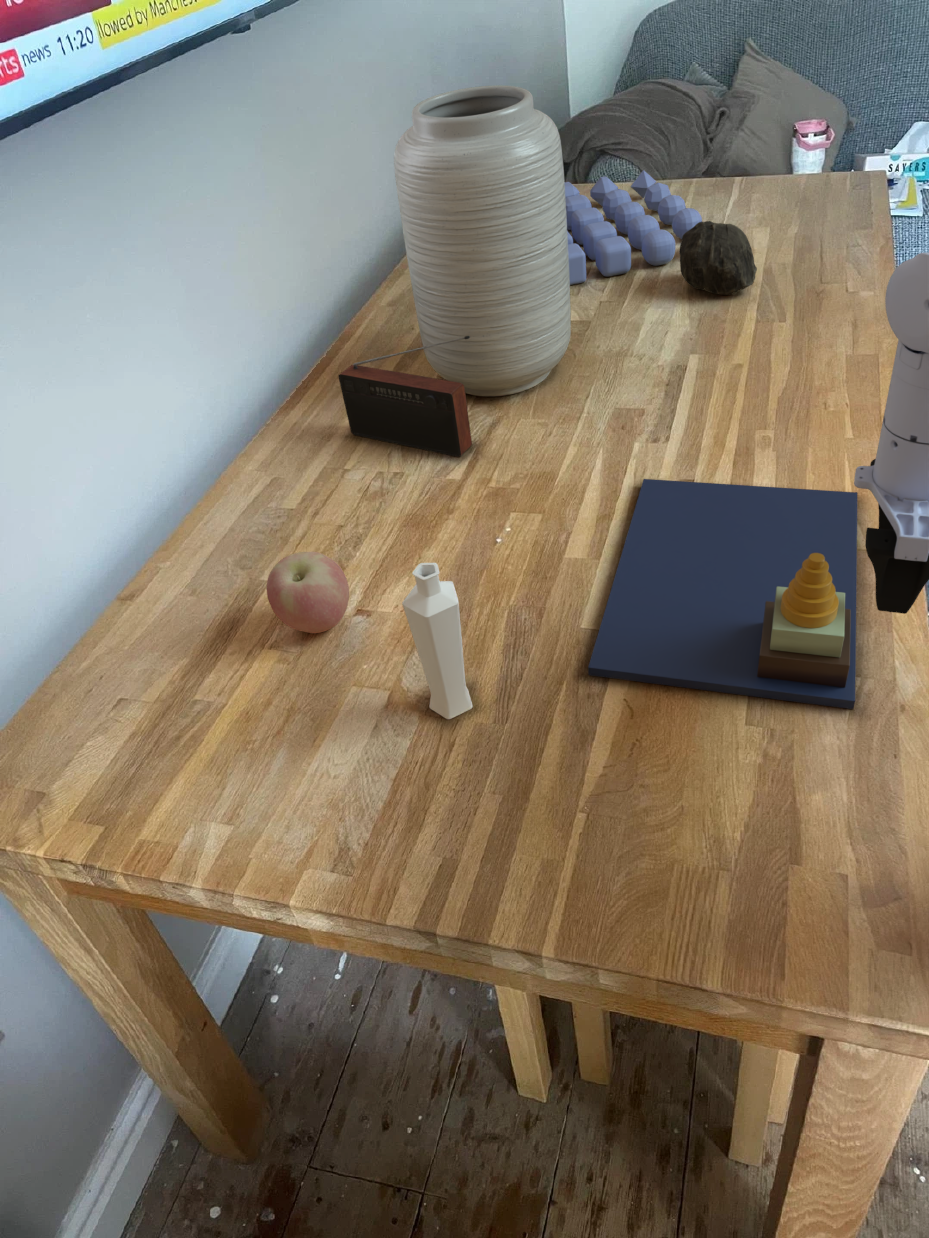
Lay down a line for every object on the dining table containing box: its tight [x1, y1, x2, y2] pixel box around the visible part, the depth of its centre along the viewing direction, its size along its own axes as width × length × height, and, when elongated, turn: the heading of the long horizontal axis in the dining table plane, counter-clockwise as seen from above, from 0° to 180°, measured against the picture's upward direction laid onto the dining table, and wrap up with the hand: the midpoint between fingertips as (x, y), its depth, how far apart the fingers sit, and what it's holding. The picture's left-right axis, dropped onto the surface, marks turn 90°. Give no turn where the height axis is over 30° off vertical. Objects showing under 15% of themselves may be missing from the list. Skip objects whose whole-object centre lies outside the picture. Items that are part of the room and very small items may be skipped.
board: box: [587, 478, 858, 710], centre depth 90 cm, size 30×22×1 cm
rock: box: [678, 220, 758, 296], centre depth 138 cm, size 10×11×10 cm
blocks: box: [564, 169, 703, 286], centre depth 159 cm, size 35×34×5 cm
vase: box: [393, 84, 572, 398], centre depth 118 cm, size 20×20×34 cm
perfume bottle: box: [401, 562, 474, 720], centre depth 78 cm, size 5×4×15 cm
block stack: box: [757, 586, 851, 688], centre depth 79 cm, size 7×7×5 cm
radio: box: [337, 336, 473, 458], centre depth 112 cm, size 19×3×15 cm, turn 60°
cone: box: [781, 553, 839, 628], centre depth 76 cm, size 4×4×6 cm
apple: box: [266, 551, 350, 634], centre depth 91 cm, size 8×8×8 cm
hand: (892, 577), depth 73 cm, fingers open, 7 cm apart
